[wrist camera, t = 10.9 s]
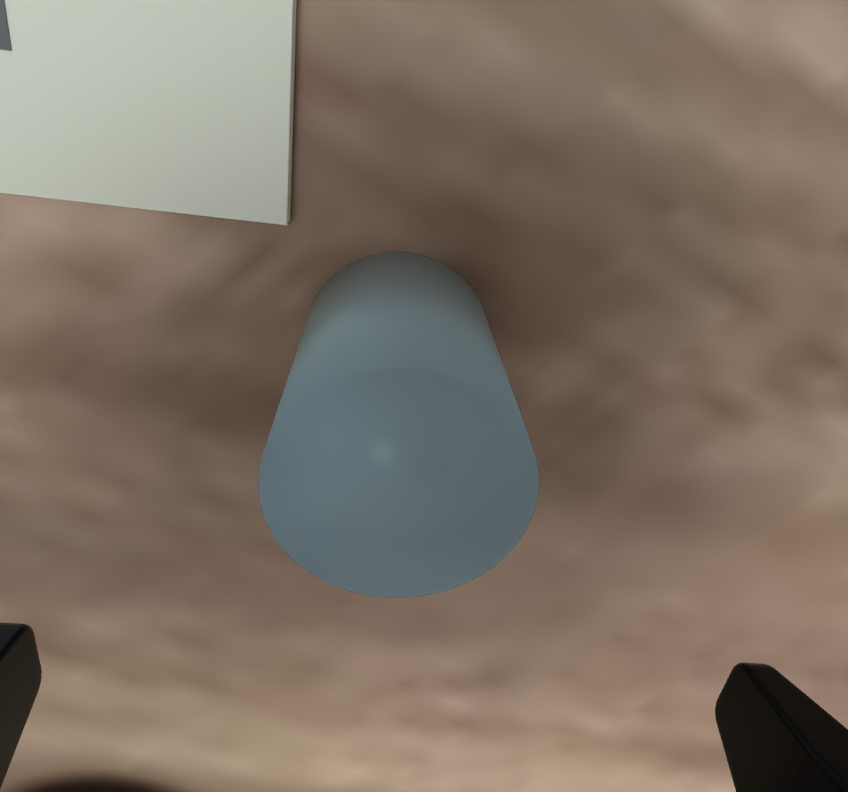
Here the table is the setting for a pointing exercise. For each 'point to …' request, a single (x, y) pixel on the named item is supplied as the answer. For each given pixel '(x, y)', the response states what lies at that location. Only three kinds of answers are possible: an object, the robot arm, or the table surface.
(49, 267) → the table surface
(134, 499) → the table surface
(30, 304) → the table surface
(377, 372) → the blue cylinder
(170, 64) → the letter board
